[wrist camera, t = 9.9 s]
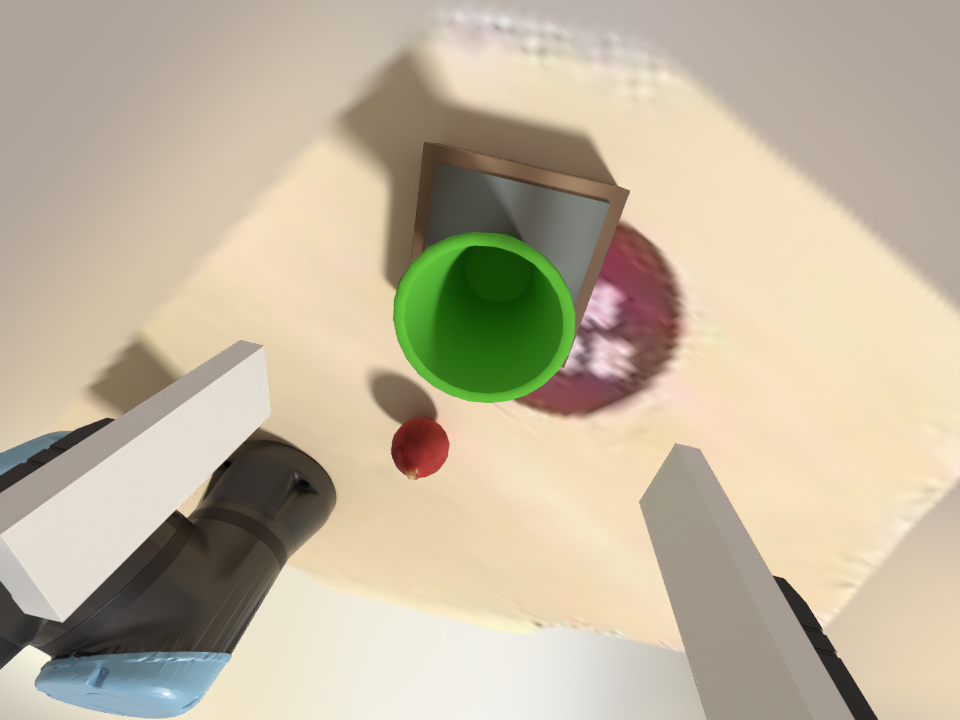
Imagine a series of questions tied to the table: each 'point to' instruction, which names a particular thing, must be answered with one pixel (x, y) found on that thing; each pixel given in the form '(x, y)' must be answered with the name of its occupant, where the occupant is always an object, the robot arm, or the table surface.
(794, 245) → the table surface
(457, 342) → the cup
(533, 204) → the flat stove
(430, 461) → the onion
